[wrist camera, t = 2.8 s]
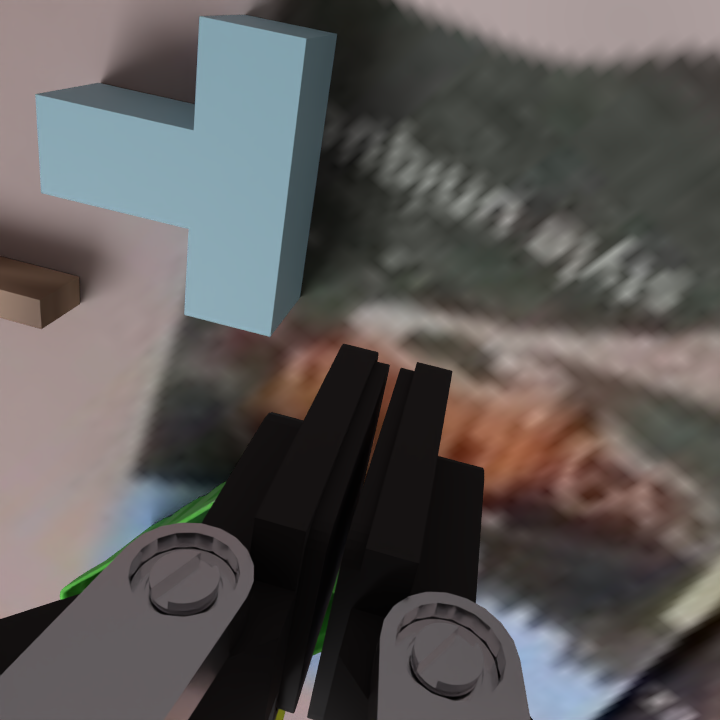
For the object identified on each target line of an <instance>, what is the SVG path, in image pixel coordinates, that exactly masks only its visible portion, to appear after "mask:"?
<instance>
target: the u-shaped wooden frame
mask: <svg viewBox="0 0 720 720" xmlns="http://www.w3.org/2000/svg"><path fill="white" fill-rule="evenodd" d="M79 304H80V290H79V277H78V276H74V275H70V274H67V273H63V272H59V271H55V270H51V269H47V268H44V267H40V266H36V265H32V264H28V263H25V262H21V261H17V260H13V259H9V258H6V257H2V256H0V318H3V319H7V320H10V321H14V322H17V323H21V324H25V325H28V326H32V327H36V328H39V329H42V328H44V327H45V326H47V325H49V324H50V323H52V322H53V321H55V320H56V319H58V318H59V317H61V316H62V315H64V314H65V313H67V312H68V311H70V310H71V309H73V308H74V307H76V306H78V305H79Z"/></svg>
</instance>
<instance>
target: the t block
mask: <svg viewBox="0 0 720 720" xmlns="http://www.w3.org/2000/svg"><path fill="white" fill-rule="evenodd" d="M336 39H337V34H335V33H330V32H325V31H321V30H316V29H311V28H306V27H302V26H297V25H292V24H287V23H283V22H278V21H273V20H268V19H263V18H259V17H254V16H249V15H221V16H200V17H199V36H198V56H197V76H196V96H195V104H191V103H187V102H182V101H178V100H174V99H169V98H165V97H160V96H156V95H151V94H147V93H142V92H138V91H133V90H129V89H124V88H120V87H115V86H111V85H107V84H102V83H95V84H89V85H84V86H78V87H73V88H67V89H62V90H56V91H51V92H45V93H40V94H35V95H36V112H37V129H38V146H39V163H40V180H41V193H43V194H47V195H52V196H56V197H60V198H64V199H68V200H72V201H76V202H80V203H84V204H89V205H93V206H97V207H101V208H105V209H109V210H113V211H117V212H121V213H126V214H130V215H134V216H138V217H142V218H146V219H150V220H154V221H158V222H163V223H167V224H171V225H175V226H179V227H183V228H187V229H189V234H188V254H187V273H186V293H185V313H184V315H188V316H192V317H195V318H199V319H203V320H207V321H211V322H215V323H219V324H223V325H227V326H231V327H234V328H238V329H242V330H246V331H250V332H254V333H258V334H262V335H266V336H269V337H270V336H271V335H272V334H273V332H274V331H275V330H276V328H277V327H278V326H279V324H280V323H281V322H282V320H283V319H284V318H285V316H286V315H287V314H288V313H289V311H290V310H291V309H292V307H293V306H294V305H295V303H296V302H297V301H298V299H299V298H300V293H301V286H302V279H303V272H304V265H305V258H306V251H307V244H308V237H309V230H310V223H311V216H312V209H313V202H314V194H315V187H316V180H317V173H318V166H319V159H320V152H321V145H322V138H323V131H324V124H325V117H326V110H327V103H328V96H329V89H330V81H331V74H332V67H333V60H334V53H335V46H336Z"/></svg>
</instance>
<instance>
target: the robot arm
mask: <svg viewBox="0 0 720 720" xmlns="http://www.w3.org/2000/svg"><path fill="white" fill-rule="evenodd" d="M377 360H378V352H375V351H371V350H367V349H363V348H359V347H355V346H351V345H347V344H343V345H342V346H341V348H340V350H339V352H338V354H337V356H336V358H335V360H334V362H333V364H332V366H331V368H330V370H329V372H328V374H327V376H326V378H325V380H324V382H323V384H322V386H321V388H320V389H319V391H318V393H317V395H316V397H315V399H314V401H313V403H312V405H311V407H310V409H309V411H308V413H307V415H306V417H305V419H304V421H303V420H299V419H296V418H292V417H288V416H284V415H280V414H277V413H273V412H271V413H268V415H267V416H266V417H265V419H264V420H263V422H262V423H261V425H260V427H259V428H258V430H257V432H256V433H255V435H254V437H253V438H252V440H251V442H250V443H249V445H248V447H247V448H246V450H245V452H244V453H243V455H242V457H241V458H240V460H239V461H238V463H237V465H236V466H235V468H234V470H233V471H232V473H231V475H230V476H229V478H228V480H227V481H226V483H225V485H224V486H223V488H222V490H221V491H220V493H219V495H218V496H217V498H216V500H215V501H214V503H213V504H212V506H211V508H210V509H209V511H208V513H207V514H206V516H205V518H204V519H203V521H202V523H176V524H171V525H165V526H160V527H158V528H156V529H153V530H151V531H149V532H146V533H144V534H142V535H141V536H139V537H138V538H137V539H135V540H134V541H133V542H132V543H130V544H129V545H128V546H126V547H125V548H124V549H123V551H122V552H121V553H120V554H119V555H118V556H117V557H116V558H115V559H114V560H113V561H112V562H111V563H110V564H109V565H108V566H107V567H106V568H105V569H104V570H103V571H102V572H101V573H100V574H99V575H98V576H97V577H96V578H95V579H94V580H93V581H92V582H91V583H90V584H89V585H88V586H87V587H86V588H85V589H84V591H83V592H82V593H80V594H77V595H74V596H71V597H68V598H65V599H61V600H58V601H55V602H52V603H49V604H46V605H43V606H40V607H37V608H34V609H30V610H27V611H24V612H21V613H18V614H15V615H12V616H9V617H6V618H2V619H0V720H275V719H276V716H277V713H278V710H279V709H281V710H284V711H287V712H290V713H294V712H295V709H296V706H297V703H298V700H299V697H300V694H301V691H302V687H303V684H304V681H305V678H306V675H307V671H308V668H309V665H310V662H311V659H312V655H313V652H314V649H315V646H316V643H317V639H318V636H319V633H320V630H321V627H322V623H323V620H324V617H325V614H326V610H327V607H328V604H329V601H330V598H331V594H332V591H333V588H334V585H335V582H336V578H337V575H338V579H337V583H336V588H335V592H334V597H333V601H332V606H331V611H330V615H329V620H328V624H327V629H326V633H325V638H324V642H323V647H322V651H321V656H320V661H319V665H318V670H317V674H316V679H315V683H314V688H313V692H312V697H311V702H310V706H309V711H308V716H307V718H310V719H313V720H533V719H532V718H531V717H530V714H529V708H528V703H527V697H526V691H525V685H524V680H523V674H522V668H521V662H520V658H519V655H518V652H517V649H516V646H515V644H514V641H513V639H512V638H511V636H510V635H509V633H508V632H507V631H506V629H505V628H504V626H503V625H502V623H501V622H500V621H498V620H497V619H496V618H495V617H494V616H493V615H492V614H491V613H489V612H488V611H487V610H486V609H485V608H483V607H481V606H479V605H478V604H476V591H477V576H478V561H479V547H480V532H481V517H482V502H483V488H484V469H483V468H481V467H477V466H474V465H470V464H466V463H462V462H458V461H455V460H451V459H447V458H443V457H439V456H438V452H439V446H440V440H441V435H442V429H443V423H444V417H445V411H446V406H447V400H448V394H449V388H450V383H451V377H452V371H451V370H447V369H443V368H439V367H435V366H431V365H427V364H423V363H419V362H417V364H416V368H415V371H412V370H408V369H404V368H401V369H400V372H399V375H398V378H397V381H396V384H395V388H394V391H393V394H392V397H391V400H390V403H389V407H388V410H387V413H386V416H385V419H384V422H383V425H382V429H381V432H380V435H379V438H378V441H377V444H376V448H375V451H374V454H373V457H372V460H371V463H370V467H369V470H368V473H367V476H366V479H365V475H366V471H367V466H368V462H369V457H370V453H371V448H372V444H373V439H374V435H375V430H376V426H377V422H378V417H379V413H380V408H381V404H382V399H383V395H384V390H385V386H386V381H387V377H388V372H389V367H390V365H388V364H384V363H380V362H377ZM364 479H365V482H364ZM363 484H364V486H363ZM362 488H363V489H362ZM339 569H340V570H339ZM338 572H339V574H338Z"/></svg>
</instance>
